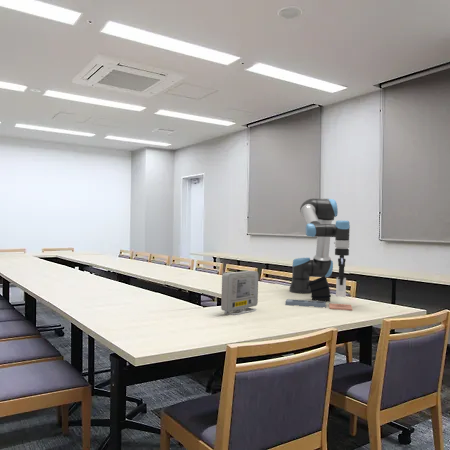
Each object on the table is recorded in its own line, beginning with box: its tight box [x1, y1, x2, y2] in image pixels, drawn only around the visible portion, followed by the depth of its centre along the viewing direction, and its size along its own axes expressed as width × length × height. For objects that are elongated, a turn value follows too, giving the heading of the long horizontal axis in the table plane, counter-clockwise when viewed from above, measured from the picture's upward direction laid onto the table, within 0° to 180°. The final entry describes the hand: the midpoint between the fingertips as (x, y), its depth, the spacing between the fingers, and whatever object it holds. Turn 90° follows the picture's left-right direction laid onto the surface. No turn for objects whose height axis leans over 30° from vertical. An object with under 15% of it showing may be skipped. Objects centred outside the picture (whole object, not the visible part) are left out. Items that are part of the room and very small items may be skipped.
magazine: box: [308, 276, 332, 302], centre depth 260 cm, size 4×13×15 cm, turn 66°
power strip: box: [284, 298, 327, 308], centre depth 242 cm, size 8×22×2 cm, turn 77°
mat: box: [328, 302, 353, 311], centre depth 238 cm, size 14×12×1 cm
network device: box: [220, 270, 259, 316], centre depth 217 cm, size 26×9×20 cm, turn 141°
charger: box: [335, 276, 347, 298], centre depth 238 cm, size 4×5×10 cm
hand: (340, 290), depth 238 cm, fingers closed on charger, 4 cm apart
